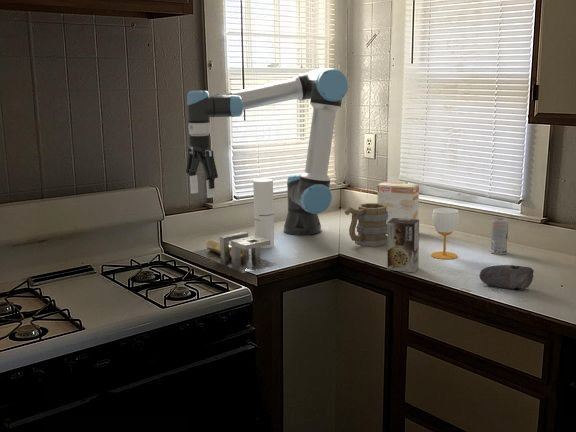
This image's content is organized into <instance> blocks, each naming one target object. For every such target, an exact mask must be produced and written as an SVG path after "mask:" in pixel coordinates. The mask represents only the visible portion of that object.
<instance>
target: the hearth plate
mask: <svg viewBox="0 0 576 432" xmlns="http://www.w3.org/2000/svg"><path fill="white" fill-rule="evenodd" d="M193 252H195V253H194V254H195V255H199V256H201V257H203V258H206V259H208V260H210V261H213V262H215V263H217V264H220V265H223V266H225V267H227V268H230V269H231V270H234V271H237V272H239V273H242V274H244V273H248V272H247V271H245V269H246V268H247V269H250V270H254V271H258V270H262V269H266V268H270V267H275V266H278V264H277V263H276V262H275V263H274V262H272V261H269V260H267V259H264V258H261V257H260V261H259V262H254V261H252V257H251V254H250V253H249V257H246V259H245V260H244V261H243V262H241V266H237V267H235V266H233V265H232V259H231V258H229V261H227V262H223V261H221V254H218V253H215V252H213V251H210V250H208V249H207V248H205V249H200V250H194V251H193ZM256 269H257V270H256Z"/></svg>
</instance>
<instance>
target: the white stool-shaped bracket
mask: <svg viewBox="0 0 576 432" xmlns="http://www.w3.org/2000/svg"><path fill="white" fill-rule="evenodd" d="M266 245H270V240H268V239H265V238H262V237H259V236H255V235H250V236H248V237H246V238H241V239H236V240H231V241H230V246H231V257H232V265H233V266H235V267H237V266H241V257H240V248H241V249H244V250H247V249H249V250H250V249H251V250H250V251H251V252H250V253H251V254H250V255H251V257H252V261H254V262H259V261H260V258H261V248H260V247H261V246H266Z"/></svg>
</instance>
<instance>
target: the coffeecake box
mask: <svg viewBox="0 0 576 432" xmlns="http://www.w3.org/2000/svg"><path fill="white" fill-rule="evenodd" d="M376 195H377V197H376V198H377V202H376V203H378V204H384V205H386V211H388V219H387V220H386V224H387V222H389V221H390V220H391V219H392V218H401V219H416V220H419V205H420V204H419V197H420V184H418V183H417V184H416V183H403V182H402V183H401V182H391V181H383V182H380V183H378V184H377V194H376ZM386 234H388V230H387V233H386Z"/></svg>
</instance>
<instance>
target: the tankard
mask: <svg viewBox="0 0 576 432" xmlns="http://www.w3.org/2000/svg"><path fill="white" fill-rule="evenodd" d="M357 207H358V208H357V209H355V208H352V207H350V206H349V207H347V208H346V209H345V210H344V213H345V215H346V216H349V215H350V214H351V221H350V225H349V230H348V231H349V233H348V235H349V237H350V239H351V241H352V242H354V243H355V244H357V245H359V246H363V247H381V246H387V245H388V235H387V234H388V233H387V230H388V227H387V224H386V220H387V219H388V211H386V205H384V204H378V203H377V202H367V203H366V202H365V203H361V204H359V205H358V206H357ZM356 233H357V234H356Z"/></svg>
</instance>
